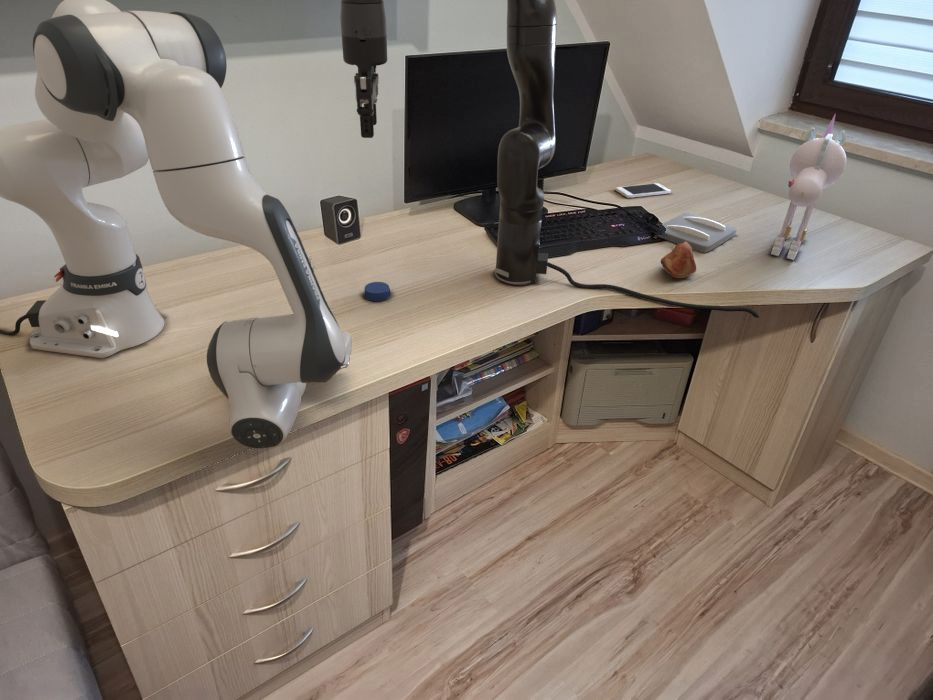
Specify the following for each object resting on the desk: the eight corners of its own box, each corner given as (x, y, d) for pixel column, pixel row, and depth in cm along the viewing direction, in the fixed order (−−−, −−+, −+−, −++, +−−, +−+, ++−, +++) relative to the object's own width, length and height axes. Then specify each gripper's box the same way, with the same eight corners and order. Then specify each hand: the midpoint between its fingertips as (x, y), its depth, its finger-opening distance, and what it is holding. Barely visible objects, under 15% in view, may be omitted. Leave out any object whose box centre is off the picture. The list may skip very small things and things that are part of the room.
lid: (392, 291, 137) (392, 282, 136) (386, 303, 133) (385, 294, 132) (368, 288, 138) (368, 280, 137) (361, 300, 133) (361, 292, 132)
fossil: (669, 273, 140) (675, 228, 140) (641, 275, 147) (646, 232, 147) (707, 283, 147) (712, 240, 147) (678, 285, 154) (683, 244, 154)
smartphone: (614, 190, 195) (615, 187, 194) (657, 185, 199) (658, 182, 199) (627, 198, 189) (628, 195, 189) (671, 193, 194) (671, 190, 193)
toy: (826, 222, 178) (867, 110, 161) (806, 269, 152) (852, 142, 135) (779, 212, 183) (814, 103, 167) (751, 256, 157) (789, 132, 141)
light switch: (708, 241, 156) (653, 223, 165) (705, 253, 158) (650, 234, 167) (740, 223, 167) (687, 206, 176) (737, 234, 169) (684, 217, 178)
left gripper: (345, 353, 100) (356, 309, 111) (213, 352, 99) (238, 308, 111) (348, 386, 103) (358, 340, 115) (221, 385, 103) (244, 339, 114)
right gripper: (345, 26, 113) (352, 120, 122) (336, 38, 101) (344, 141, 110) (388, 27, 113) (391, 121, 122) (384, 39, 102) (388, 142, 111)
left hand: (298, 324), depth 113 cm, fingers open, 8 cm apart
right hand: (369, 130), depth 116 cm, fingers open, 8 cm apart
